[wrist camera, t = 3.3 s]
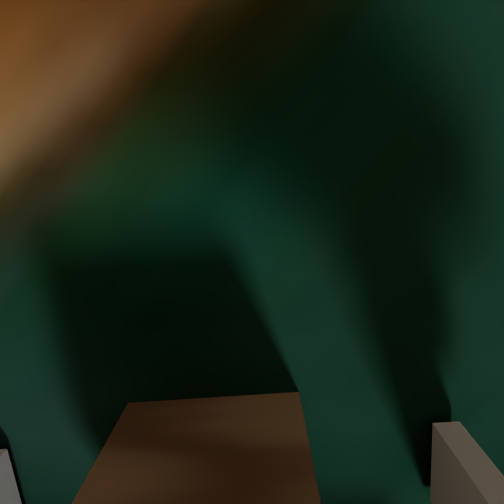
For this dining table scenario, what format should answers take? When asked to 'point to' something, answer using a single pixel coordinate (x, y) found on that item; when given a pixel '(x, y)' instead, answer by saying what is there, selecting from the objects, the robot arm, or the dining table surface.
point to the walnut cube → (206, 454)
